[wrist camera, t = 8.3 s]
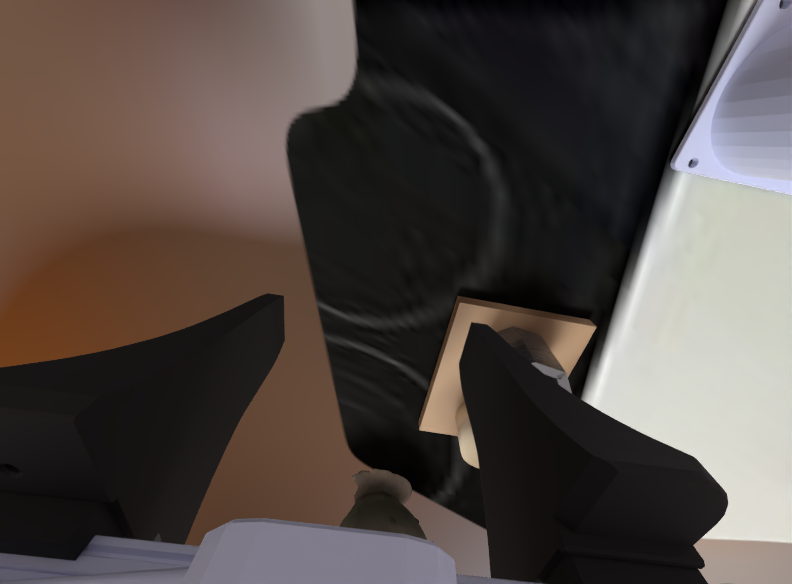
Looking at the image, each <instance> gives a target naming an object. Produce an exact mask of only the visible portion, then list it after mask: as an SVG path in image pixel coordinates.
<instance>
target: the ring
mask: <svg viewBox="0 0 792 584" xmlns="http://www.w3.org/2000/svg"><path fill="white" fill-rule="evenodd" d="M497 333H498V334H499V335H500V336H501V337H502V338H503V339H504V340H505V341H506V342H508V343H509V344H510V345H511V346H512V347H513V348H514V349H515V350H516V351H517V352H519V353H520V354H521V355H522V356H523V357H524V358H525V359H527V360H528V361H529V362H530V363H531V364H532V365H534V366H535V367H536V368H537V369H539V370H540V371H541V372H542V373H544V374H545V375H546V376H547V377H549V378H550V379H551V380H553V381H554V382H556V383H557V384H559V385H560V386H561V387H563V388H564V389H566V390H567V391H569V392H570V393H571V394H572V392H571V388H570V385H569V381H568V377H567V373H566V372H565V370H564V369H563V367H562V366H561V364H560V363H559V361H558V360H557V359H556V357H555V356H554V354H553V353H552V351H551V350H550V348H549V347H548V346H547V344H546V343H545V341H544V340H543V338H542V337H541V335H538V334H535V333H533V332H530V331H527V330H524V329H521V328H519V327H516V326H512V327H509V328H506V329H503V330H500V331H498V332H497Z"/></svg>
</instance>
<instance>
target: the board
mask: <svg viewBox="0 0 792 584" xmlns="http://www.w3.org/2000/svg"><path fill="white" fill-rule="evenodd" d="M471 322H474V323H481V324H487V325H488V326H490V327H491V328H492V329H493V330H494V331H496V332H498V331H500V330H503V329H506V328H509V327H512V326H516V327H519V328H521V329H524V330H527V331H530V332H533V333H535V334H538V335H541V337H542V338H543V340H544V341H545V343H546V344H547V346H548V347H549V348H550V350H551V351H552V353H553V354H554V356H555V357H556V359H557V360H558V361H559V363H560V364H561V366H562V367H563V369H564V370H565V372H566V373H567V377H568V376H569V375H570V373H571V371H572V369H573V368H574V366H575V364H576V362H577V361H578V359H579V357H580V355H581V354H582V352H583V350H584V348H585V347H586V345H587V343H588V341H589V340H590V338H591V336H592V334H593V333H594V331H595V329H596V326H595V325H594V324H593V323H592V322H591V321H590V320H588V319H583V318H577V317H572V316H566V315H561V314H555V313H550V312H544V311H539V310H533V309H527V308H522V307H516V306H511V305H505V304H500V303H494V302H489V301H483V300H478V299H472V298H467V297H461V296H457V300H456V303H455V306H454V309H453V312H452V316H451V319H450V322H449V325H448V329H447V332H446V335H445V338H444V341H443V345H442V348H441V351H440V354H439V357H438V361H437V364H436V367H435V370H434V373H433V377H432V380H431V383H430V386H429V390H428V393H427V396H426V399H425V402H424V406H423V409H422V412H421V415H420V418H419V430H422V431H428V432H435V433H441V434H448V435H454V436H458V439H459V444H460V450H461V455H462V457H463V459H464V460H465V461H466V462H467V463H468V464H470V465H472V466H474V467H477V468H479V462H478V455H477V450H476V445H475V440H474V436H473V432H472V428H471V424H470V421H469V417H468V413H467V409H466V405H465V401H464V397H463V393H462V388H461V381H460V372H459V361H460V358H461V355H462V351H463V348H464V345H465V341H466V338H467V335H468V331H469V328H470V325H471Z"/></svg>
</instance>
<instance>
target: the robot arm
mask: <svg viewBox="0 0 792 584" xmlns="http://www.w3.org/2000/svg"><path fill="white" fill-rule="evenodd" d="M780 1H781V0H758V2H757V4H756V5H755V7H754V9H753V11H752V13H751V15H750V16H749V18H748V20H747V22H746V24H745V26H744V27H743V29H742V31H741V33H740V35H739V37H738V39H737V40H736V42H735V44H734V46H733V48H732V50H731V51H730V53H729V55H728V57H727V59H726V61H725V62H724V64H723V66H722V68H721V70H720V72H719V74H718V75H717V77H716V79H715V81H714V83H713V85H712V86H711V88H710V90H709V92H708V94H707V96H706V97H705V99H704V101H703V103H702V105H701V107H700V108H699V110H698V112H697V114H696V116H695V118H694V120H693V121H692V123H691V125H690V127H689V129H688V131H687V132H686V134H685V136H684V138H683V140H682V142H681V143H680V145H679V147H678V149H677V151H676V153H675V155H674V156H673V158H672V160H671V168H672V169H674V170H676V171H681V172H686V173H690V174H695V175H700V176H705V177H709V178H714V179H719V180H723V181H728V182H733V183H737V184H742V185H747V186H751V187H756V188H761V189H766V190H770V191H775V192H780V193H784V194H789V195H792V0H783V5H782V7H781V8H780V7H779V4H780ZM691 159H692V160H693V162H692V164H691V165H690V166H689V167H688V163H689V161H690V160H691ZM284 341H285V336H284V296H281V295H274V294H265V295H262V296H260V297H257V298H255V299H253V300H251V301H248V302H246V303H244V304H242V305H240V306H237V307H235V308H233V309H231V310H229V311H227V312H224V313H222V314H220V315H217V316H215V317H212V318H210V319H208V320H205V321H203V322H200V323H198V324H195V325H193V326H190V327H187V328H185V329H182V330H179V331H176V332H173V333H170V334H167V335H164V336H160V337H157V338H154V339H150V340H146V341H142V342H138V343H134V344H130V345H127V346H123V347H119V348H115V349H110V350H105V351H101V352H97V353H91V354H86V355H80V356H75V357H70V358H64V359H58V360H51V361H44V362H37V363H30V364H23V365H17V366H9V367H1V368H0V584H708V583H707V581H706V580H705V579H704V577H703V576H702V574H701V573H700V571H699V570H698V569H702V568H703V567H704V566H705V564H704V560H703V559H702V557H701V556H700V555H699V553H698V552H697V551H696V549H695V547H694V546H693V545H694V544H695V543H696V542H697V541H698V540H699V539H701V538H702V537H703V536H704V535H705V534H706V533H707V532H708V531H709V530H710V529H712V528H713V527H714V526H715V525H716V524H717V523H718V522H719V521H720V520H721V518H722V517H723V516H724V514H725V512H726V509H727V506H728V499H727V493H726V492H725V491H724V490H723V488H722V487H721V486H720V485H719V484H718V483H717V482H716V480H715V479H714V478H713V477H712V476H711V475H710V474H709V473H708V471H707V470H706V469H705V468H704V467H703V466H702V465H701V464H700V462H699V461H698V460H697V459H696V458H694V457H693V456H691V455H688V454H686V453H684V452H682V451H679V450H677V449H675V448H673V447H671V446H668V445H666V444H664V443H662V442H659V441H657V440H655V439H653V438H651V437H648V436H646V435H644V434H642V433H640V432H638V431H636V430H634V429H632V428H630V427H629V426H627V425H625V424H623V423H621V422H619V421H617V420H615V419H613V418H611V417H610V416H608V415H606V414H604V413H602V412H601V411H599V410H597V409H596V408H594V407H592V406H591V405H589V404H587V403H586V402H584V401H582V400H581V399H579V398H578V397H576V396H575V395H573V394H571V393H570V392H569V391H567V390H566V389H564V388H563V387H561V386H560V385H559V384H557V383H556V382H554V381H553V380H551V379H550V378H549V377H547V376H546V375H545V374H544V373H542V372H541V371H540V370H539V369H537V368H536V367H535V366H534V365H532V364H531V363H530V362H529V361H528V360H527V359H525V358H524V357H523V356H522V355H521V354H520V353H519V352H517V351H516V350H515V349H514V348H513V347H512V346H511V345H510V344H509V343H508V342H506V341H505V340H504V339H503V338H502V337H501V336H500V335H499V334H498V333H497V332H496V331H494V330H493V329H492V328H491V327H490V326H488V325H487V324H481V323H474V322H471V325H470V328H469V331H468V335H467V338H466V341H465V345H464V348H463V351H462V355H461V358H460V361H459V372H460V381H461V388H462V393H463V397H464V401H465V405H466V409H467V413H468V417H469V421H470V424H471V428H472V432H473V436H474V440H475V445H476V450H477V455H478V462H479V469H480V476H481V483H482V491H483V499H484V507H485V517H486V526H487V536H488V546H489V558H490V571H491V578H487V577H478V576H468V575H459V574H456V569H455V561H454V560H453V559H452V558H451V557H450V556H449V555H448V554H447V553H446V552H444V551H443V550H442V549H441V548H440V547H438V546H437V545H436V544H434V543H433V542H432V541H429V540H425V539H421V538H418V537H414V536H410V535H406V534H399V533H391V532H382V531H373V530H364V529H355V528H346V527H337V526H329V525H320V524H310V523H302V522H292V521H284V520H275V519H266V518H257V519H235V520H233V521H231V522H228V523H227V524H224V525H222V526H220V527H218V528H216V529H214V530H212V531H210V532H208V533H206V535H205V537H204V539H203V541H202V544H201V545H200V546H191V545H185V542H186V540H187V537H188V535H189V532H190V530H191V527H192V525H193V522H194V520H195V517H196V515H197V513H198V510H199V508H200V506H201V503H202V501H203V499H204V496H205V494H206V492H207V489H208V487H209V485H210V482H211V480H212V478H213V476H214V473H215V471H216V469H217V467H218V465H219V462H220V460H221V458H222V456H223V454H224V451H225V449H226V447H227V445H228V443H229V441H230V439H231V437H232V434H233V433H234V431H235V428H236V427H237V425H238V423H239V421H240V419H241V417H242V416H243V414H244V412H245V410H246V409H247V407H248V405H249V403H250V402H251V401H252V399H253V397H254V396H255V394H256V393H257V391H258V389H259V388H260V386H261V385H262V383H263V381H264V380H265V378H266V376H267V375H268V373H269V372H270V370H271V368H272V366H273V365H274V363H275V361H276V359H277V357H278V355H279V353H280V350H281V348H282V345H283V343H284Z"/></svg>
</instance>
